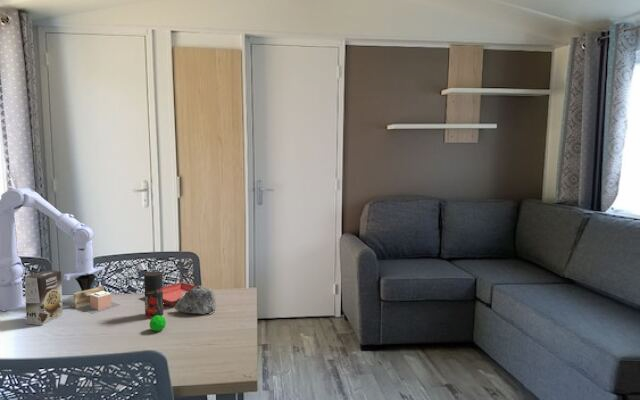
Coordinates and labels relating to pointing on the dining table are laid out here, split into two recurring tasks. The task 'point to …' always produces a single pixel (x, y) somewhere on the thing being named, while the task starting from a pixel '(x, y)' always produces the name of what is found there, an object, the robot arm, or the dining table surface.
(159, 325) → the polyhedron
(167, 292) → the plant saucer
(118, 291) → the dining table surface
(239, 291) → the dining table surface
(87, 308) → the slate mat
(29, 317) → the brown food box
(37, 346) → the dining table surface
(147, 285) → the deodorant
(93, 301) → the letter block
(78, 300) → the wooden stand
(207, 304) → the mineral rock
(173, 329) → the dining table surface
